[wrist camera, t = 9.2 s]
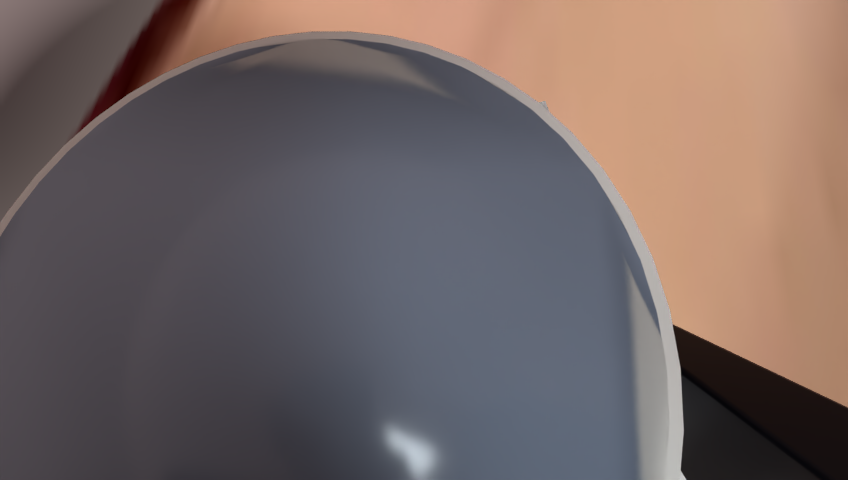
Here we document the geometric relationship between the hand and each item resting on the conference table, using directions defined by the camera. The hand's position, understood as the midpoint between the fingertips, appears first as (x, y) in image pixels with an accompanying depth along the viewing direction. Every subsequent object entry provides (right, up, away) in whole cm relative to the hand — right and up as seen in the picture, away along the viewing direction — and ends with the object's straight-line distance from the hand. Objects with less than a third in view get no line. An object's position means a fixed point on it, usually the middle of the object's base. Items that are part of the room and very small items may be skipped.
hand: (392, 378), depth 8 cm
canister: (+1, -2, +8) cm, 8 cm away
